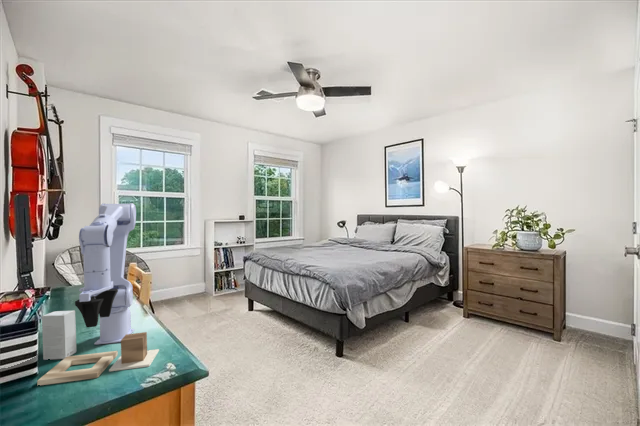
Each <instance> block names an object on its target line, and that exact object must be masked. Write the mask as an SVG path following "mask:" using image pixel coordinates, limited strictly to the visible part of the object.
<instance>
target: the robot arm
mask: <svg viewBox="0 0 640 426" xmlns="http://www.w3.org/2000/svg"><path fill="white" fill-rule="evenodd" d="M136 220H137V207H136V204H134V203H133V202H130V203H104V202H103V203H101V204H100V205H99V207H98V216H96V217H95V218H94V219H93V220H92V221H91V223H89V225H85V226H83V227H81V228H80V229H79V232H78V243H79V245H80V253H81V255H83V287H80V288H79V290H78V291H79V292H80V293H79V295H78V296H79V297H78V299H76V300H75V301H74V306H75V307H76V308H77V309H78V311H79V313H81V315H82V318H83V320H84V323H85V327H86V328H94V327H97V326H98V324H99V339H97V340H96V341H95V342H94V343H93V344H94V345H105V344H116V343H121V340H122V339H123V337H124V336H125V335H126V334H133V332H135V328H132V318H131V317H132V314H131V309H129V308H130V307H131V306H132V305H133V300H134V293H133V288H134V287H133V284H132V283H131V281H129V280H127V278H124V277H125V266H126V265H125V264H126V256H127V255H126V254H127V244H128V237H129V234H130V232H131V231H133V230H135V226H136V224H137V223H136V222H137V221H136Z"/></svg>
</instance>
